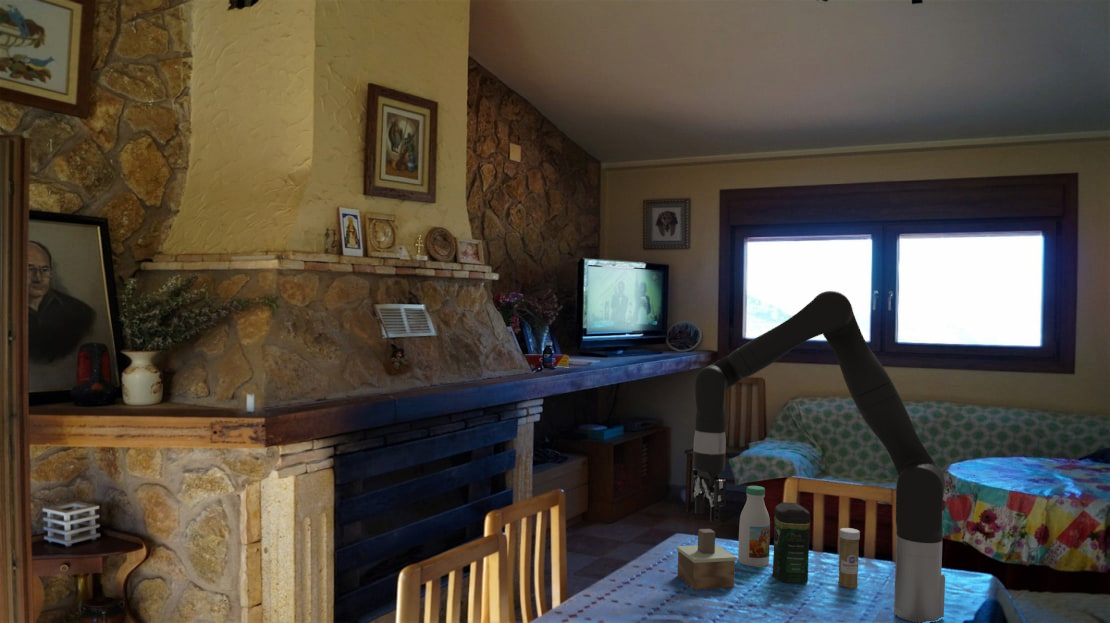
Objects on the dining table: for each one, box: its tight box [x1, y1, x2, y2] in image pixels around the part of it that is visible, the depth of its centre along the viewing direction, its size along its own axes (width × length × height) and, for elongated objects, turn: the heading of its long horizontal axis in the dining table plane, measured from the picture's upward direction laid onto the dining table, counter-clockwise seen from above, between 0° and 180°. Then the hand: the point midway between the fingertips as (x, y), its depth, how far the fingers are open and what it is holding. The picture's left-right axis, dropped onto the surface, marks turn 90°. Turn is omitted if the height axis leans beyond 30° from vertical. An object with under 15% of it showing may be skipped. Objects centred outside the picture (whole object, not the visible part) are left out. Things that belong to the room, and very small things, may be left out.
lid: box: [676, 528, 738, 563], centre depth 205 cm, size 11×11×6 cm
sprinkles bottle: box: [838, 527, 861, 589], centre depth 207 cm, size 5×5×13 cm
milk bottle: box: [737, 485, 771, 567], centre depth 221 cm, size 8×8×20 cm
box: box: [677, 550, 736, 590], centre depth 205 cm, size 10×10×7 cm
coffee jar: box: [772, 501, 811, 585], centre depth 210 cm, size 10×8×19 cm
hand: (706, 517), depth 205 cm, fingers open, 8 cm apart
